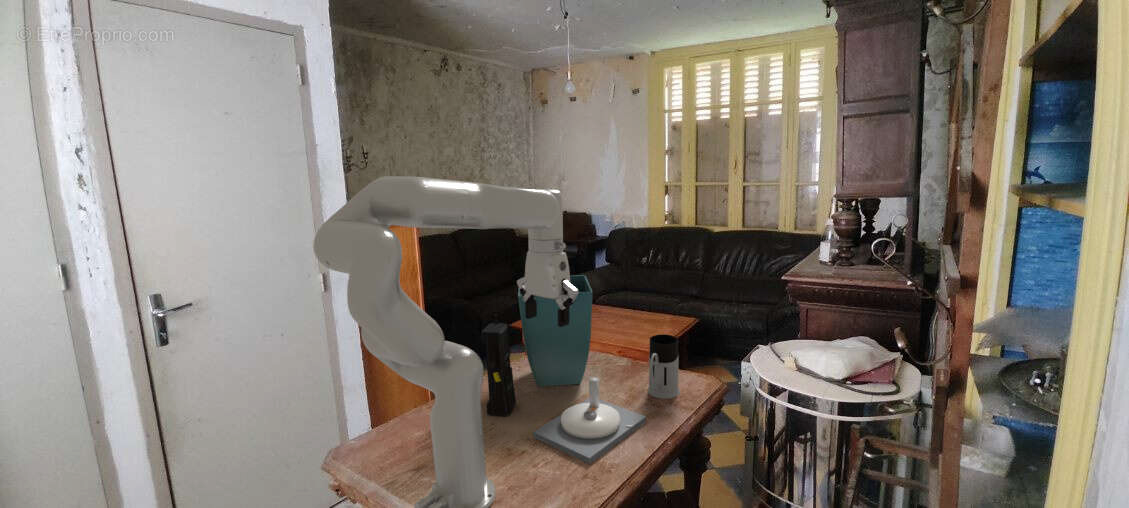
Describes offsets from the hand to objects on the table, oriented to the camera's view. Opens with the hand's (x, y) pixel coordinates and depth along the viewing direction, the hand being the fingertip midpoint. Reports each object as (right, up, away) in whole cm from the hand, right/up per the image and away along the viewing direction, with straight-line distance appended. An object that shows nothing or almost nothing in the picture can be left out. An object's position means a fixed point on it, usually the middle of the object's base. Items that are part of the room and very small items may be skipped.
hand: (547, 321), depth 117 cm
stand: (+10, -27, +8) cm, 30 cm away
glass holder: (+30, -23, +23) cm, 44 cm away
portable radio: (-12, -26, +18) cm, 34 cm away
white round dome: (+10, -25, +7) cm, 28 cm away
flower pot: (+2, -21, +37) cm, 43 cm away
